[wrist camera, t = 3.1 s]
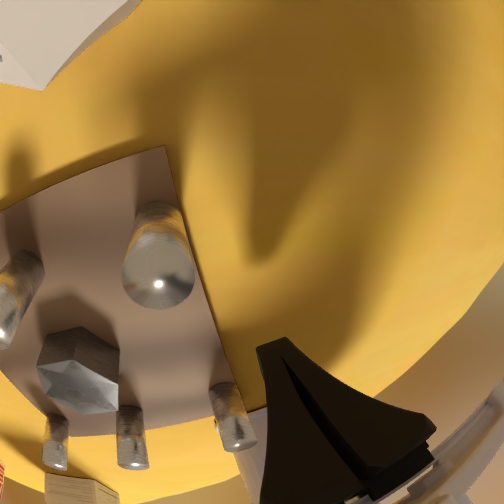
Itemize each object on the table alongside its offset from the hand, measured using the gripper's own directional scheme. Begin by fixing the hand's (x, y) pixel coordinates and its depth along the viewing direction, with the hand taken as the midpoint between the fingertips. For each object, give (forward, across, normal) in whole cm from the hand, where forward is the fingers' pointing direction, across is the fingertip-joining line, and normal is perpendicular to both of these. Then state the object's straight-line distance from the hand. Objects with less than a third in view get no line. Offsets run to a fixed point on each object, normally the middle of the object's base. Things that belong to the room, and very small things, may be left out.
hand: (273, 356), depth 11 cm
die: (+4, +5, -17) cm, 18 cm away
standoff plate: (+4, +10, 0) cm, 11 cm away
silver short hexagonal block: (+3, +10, 0) cm, 11 cm away
